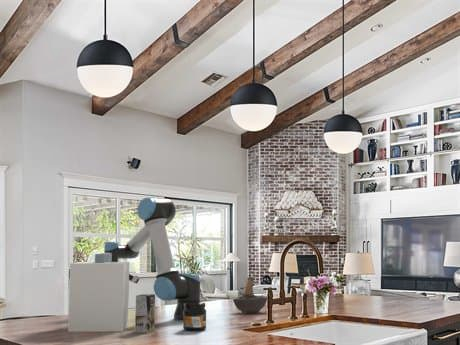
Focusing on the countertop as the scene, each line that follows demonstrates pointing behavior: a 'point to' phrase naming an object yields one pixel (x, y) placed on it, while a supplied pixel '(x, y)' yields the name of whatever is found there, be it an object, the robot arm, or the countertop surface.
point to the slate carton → (103, 257)
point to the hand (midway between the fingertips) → (125, 272)
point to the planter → (250, 300)
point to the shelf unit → (98, 297)
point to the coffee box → (145, 313)
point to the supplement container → (194, 316)
